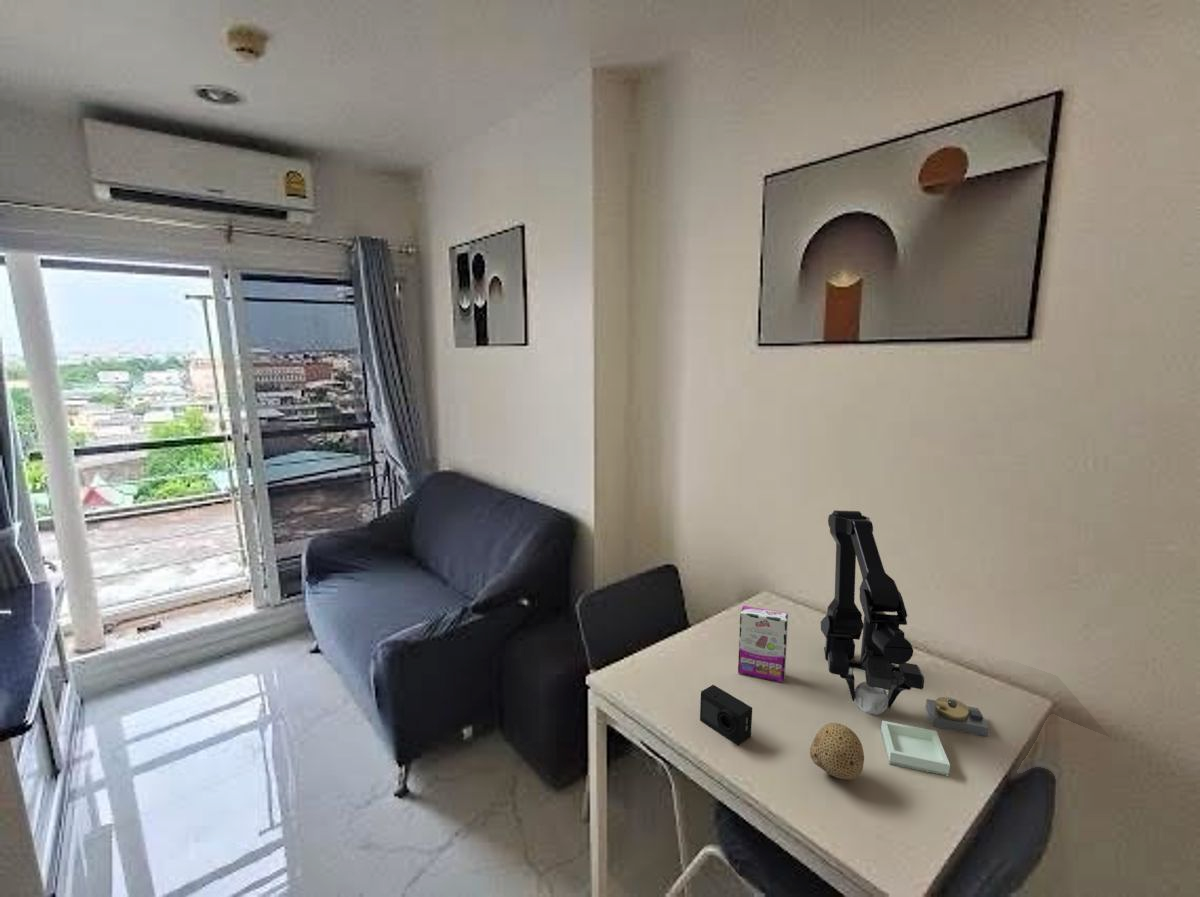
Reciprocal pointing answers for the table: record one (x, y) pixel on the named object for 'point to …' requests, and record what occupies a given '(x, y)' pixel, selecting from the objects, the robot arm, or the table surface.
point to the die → (871, 698)
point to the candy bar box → (762, 643)
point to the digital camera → (726, 714)
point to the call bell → (956, 716)
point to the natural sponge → (838, 751)
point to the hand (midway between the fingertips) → (870, 703)
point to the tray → (914, 748)
